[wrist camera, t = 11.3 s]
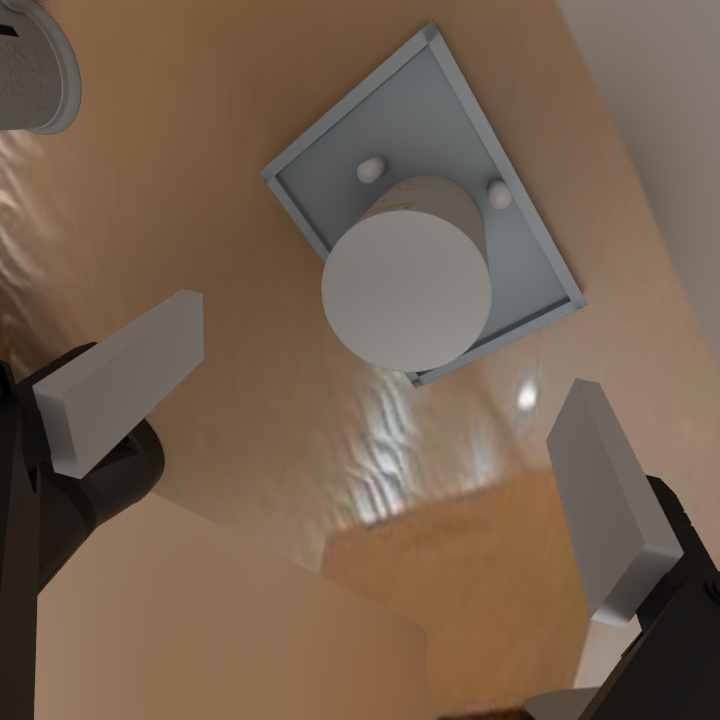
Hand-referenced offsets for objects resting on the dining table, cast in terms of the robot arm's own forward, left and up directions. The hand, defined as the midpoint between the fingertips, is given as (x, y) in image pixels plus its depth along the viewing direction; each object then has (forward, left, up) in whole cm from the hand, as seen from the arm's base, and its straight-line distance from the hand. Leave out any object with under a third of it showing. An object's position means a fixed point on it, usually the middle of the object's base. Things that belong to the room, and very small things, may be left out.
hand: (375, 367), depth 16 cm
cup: (0, 0, -19) cm, 19 cm away
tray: (0, 0, -20) cm, 20 cm away
